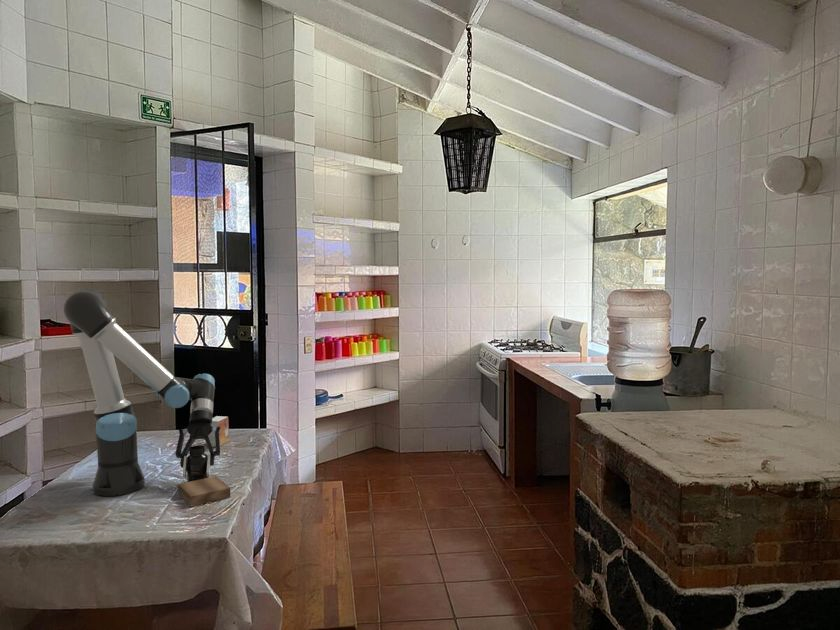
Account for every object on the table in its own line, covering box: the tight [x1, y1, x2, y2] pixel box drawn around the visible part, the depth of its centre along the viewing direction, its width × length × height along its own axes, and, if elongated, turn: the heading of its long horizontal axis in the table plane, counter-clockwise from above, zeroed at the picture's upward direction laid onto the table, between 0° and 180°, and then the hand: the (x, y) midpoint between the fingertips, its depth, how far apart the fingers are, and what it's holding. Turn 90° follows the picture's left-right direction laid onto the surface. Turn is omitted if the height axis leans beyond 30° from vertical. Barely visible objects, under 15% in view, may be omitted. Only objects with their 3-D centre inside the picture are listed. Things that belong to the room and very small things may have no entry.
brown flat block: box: [177, 475, 231, 507], centre depth 191 cm, size 12×13×3 cm
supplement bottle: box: [186, 444, 210, 482], centre depth 202 cm, size 7×7×12 cm
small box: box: [208, 415, 230, 448], centre depth 245 cm, size 8×6×10 cm
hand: (196, 475), depth 199 cm, fingers closed on supplement bottle, 7 cm apart
